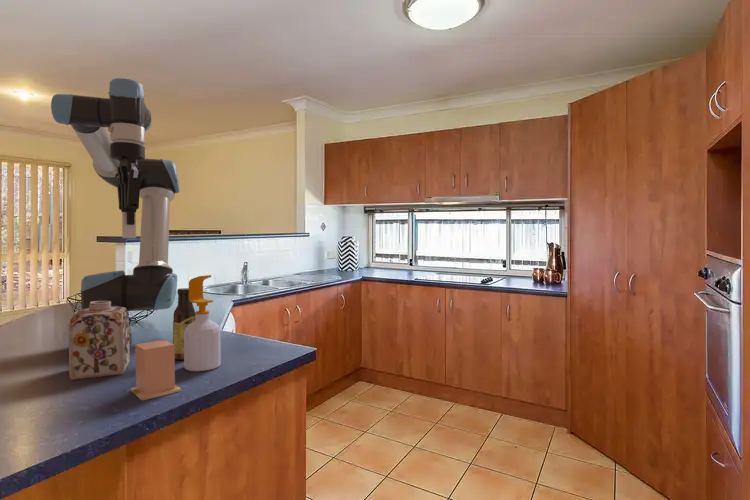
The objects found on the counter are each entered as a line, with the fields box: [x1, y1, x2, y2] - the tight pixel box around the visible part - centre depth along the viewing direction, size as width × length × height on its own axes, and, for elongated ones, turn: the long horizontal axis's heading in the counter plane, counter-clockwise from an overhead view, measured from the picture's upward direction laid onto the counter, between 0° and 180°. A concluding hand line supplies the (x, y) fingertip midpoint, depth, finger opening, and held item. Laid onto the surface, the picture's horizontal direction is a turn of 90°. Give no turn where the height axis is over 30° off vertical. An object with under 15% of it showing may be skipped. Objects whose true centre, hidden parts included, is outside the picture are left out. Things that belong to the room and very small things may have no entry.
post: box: [130, 384, 182, 401], centre depth 95 cm, size 8×8×7 cm
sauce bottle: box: [172, 287, 196, 361], centre depth 121 cm, size 6×6×20 cm
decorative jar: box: [68, 301, 131, 381], centre depth 109 cm, size 12×12×18 cm
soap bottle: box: [183, 274, 222, 373], centre depth 113 cm, size 9×9×25 cm
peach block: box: [134, 339, 176, 396], centre depth 95 cm, size 6×6×10 cm
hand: (129, 237), depth 107 cm, fingers closed
